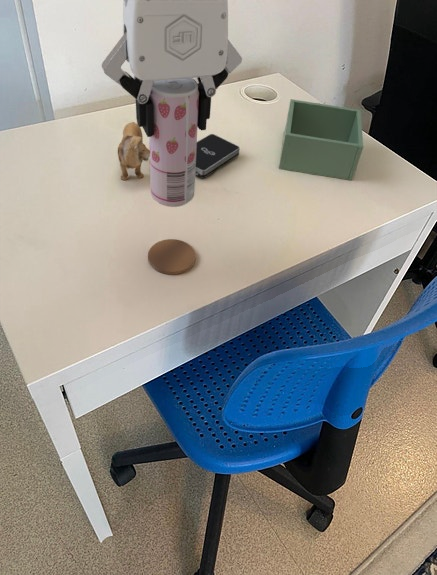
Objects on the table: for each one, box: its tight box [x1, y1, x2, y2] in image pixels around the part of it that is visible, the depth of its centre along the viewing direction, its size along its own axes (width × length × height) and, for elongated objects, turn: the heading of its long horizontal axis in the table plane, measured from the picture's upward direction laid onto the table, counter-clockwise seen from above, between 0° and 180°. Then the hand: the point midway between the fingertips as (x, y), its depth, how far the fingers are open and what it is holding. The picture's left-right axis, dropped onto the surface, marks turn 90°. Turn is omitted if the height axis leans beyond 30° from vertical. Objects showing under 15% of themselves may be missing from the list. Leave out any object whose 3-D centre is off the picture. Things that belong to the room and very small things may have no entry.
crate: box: [278, 98, 364, 181], centre depth 93 cm, size 14×14×7 cm
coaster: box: [147, 238, 197, 276], centre depth 73 cm, size 7×7×1 cm
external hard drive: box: [195, 133, 240, 179], centre depth 91 cm, size 7×11×2 cm, turn 142°
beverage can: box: [148, 78, 199, 208], centre depth 59 cm, size 6×6×15 cm
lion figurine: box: [117, 121, 150, 181], centre depth 85 cm, size 15×5×9 cm, turn 13°
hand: (173, 126), depth 58 cm, fingers closed on beverage can, 5 cm apart
